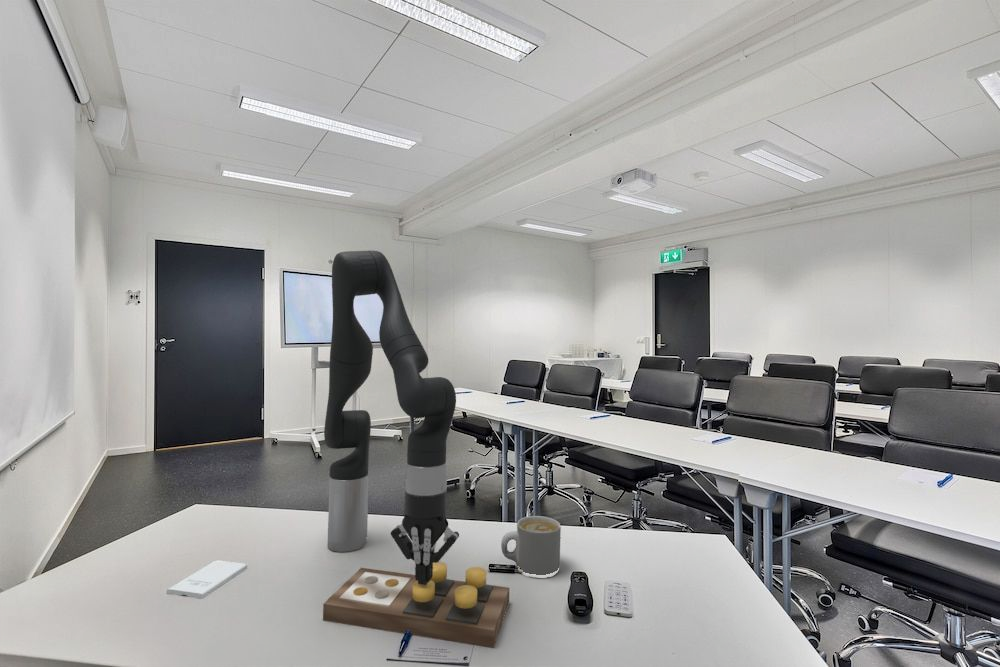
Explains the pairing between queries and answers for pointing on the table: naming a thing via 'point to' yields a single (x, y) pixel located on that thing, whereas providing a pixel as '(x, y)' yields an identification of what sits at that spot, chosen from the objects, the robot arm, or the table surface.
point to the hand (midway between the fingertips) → (423, 582)
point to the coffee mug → (535, 545)
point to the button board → (417, 608)
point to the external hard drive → (207, 579)
